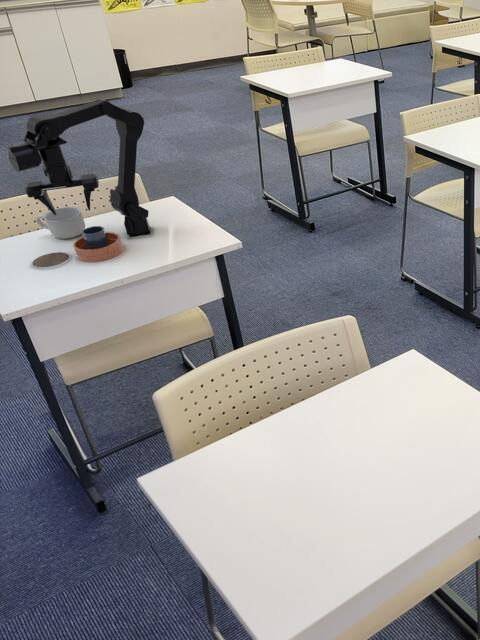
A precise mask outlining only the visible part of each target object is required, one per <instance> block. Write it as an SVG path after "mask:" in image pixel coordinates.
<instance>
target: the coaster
mask: <svg viewBox="0 0 480 640" xmlns="http://www.w3.org/2000/svg"><path fill="white" fill-rule="evenodd" d="M69 258H70V255H69V254H68V253H66V252H59V251H57V252H50V253H46V254H43V255H41V256H38V257H37V258H35V259H34V260H33V261H32V265H33V266H34V267H36V268H51V267H55V266H58V265H61V264H64V263H65V262H66V261H68V260H69Z"/></svg>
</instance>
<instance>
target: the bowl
mask: <svg viewBox="0 0 480 640" xmlns="http://www.w3.org/2000/svg"><path fill="white" fill-rule="evenodd" d="M105 232H106V235H107V238H108V241H109V244H110V245H109V246H106V247H103V248H99V249H93V250H88V248H87V246H86V243H85V240H84V237H83V236H81V237H80V238H78V239H76V240H75V241H73V244H72V248H73V250H74V253H75V255H76V258H77V259H78V260H79V261H81V262H84V263H96V262H104V261H107V260H111V259H114V258H117V257H118V256H120V255H121V254H122V253H123V252H124V249H125V247H124V244H123V241H122V238H121V236H120V234H118V233H117V232H112V231H105Z"/></svg>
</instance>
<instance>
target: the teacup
mask: <svg viewBox="0 0 480 640" xmlns="http://www.w3.org/2000/svg"><path fill="white" fill-rule="evenodd" d="M55 211H56V214H57V215H56V216H55V215H54V214H53V213H52V212H51V211H50V210H49V211H48V212H46V213H45V214H42V213H41V214H38V215H37V216H36V217H35V221H36V224H38V225H39V226H40V227H41V228H43V229H46V230H48V231H49V232H50V233H51V235H52V236H54V237H55V238H57V239H61V240H69V239H73V238H76V237H79V236H81V235H82V231H83V230H84V229H86V223H85V219H84V217H83V213H82V209H80V208H79V207H77V206H61V207H56V208H55ZM41 219H43V220H44V221H45V223H43V222H42V221H41Z"/></svg>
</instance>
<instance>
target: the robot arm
mask: <svg viewBox="0 0 480 640" xmlns="http://www.w3.org/2000/svg"><path fill="white" fill-rule="evenodd" d="M104 116H106V117H108V118H109V119H112V120H114V121H115V128H116V131H117V134H118V136H119V153H118V155H119V156H118V173H117V174H118V175H117V185H116V187H115V188H114V189H112V188H110V190H109V194H110V197H109V201H108V202H109V203H110V205H111V208H113V210H115V211H116V212H118V213H120V215H122V216H124V221H123V225H124V228H125V231H126V234H127V235H128V238H135V237H144V236H149V235H151V232H152V228H151V226H150V223H149V220H148V217H149V212H150V211H149V209H147V208H144V207H142V206H140V202H139V196H138V193H137V190H136V188H135V185H136V167H137V151H138V150H137V149H138V141H139V140H140V139H141V137H142V135H143V131H144V126H145V119H144V117H143V116H142V114H140V113H139V112H136V111H134V110H131V109H129V108H122V107H119V106H117V105H115V104H113V103H111V102H110V101H108V100H105V99H102V98H97V99H95V100H94V101H90V102H88V103H85V104H81V105H79V106H76V107H73V108H70V109H67V110H64V111H62V112H58V113H52V114H51V113H49V114H47V113H46V114H40V115H39V114H38V115H33V116H31V117H29V118H28V119H27V122H26V133H25V135H24V138H23V143H21V144H17V145H9V146H7V150H8V151H7V155H8V160H9V163H10V164H11V166H12V168H13V169H14V170H15V171H16V172H18V173H20V172H23V171H27V170H31V169H34V168H38V167H40V165H41V164H42V170H43V174H44V175H45V177H47V178H48V180H49V183H43V181H42V180H36V181H35V180H34V181H28V182H27V183H26V186H25V189H24V190H25V193H26V196H27V198H33V199H34V200H38V201H39V202H40V203H42V204H43V205H44V206H45V207H46V208H47V209H48V210H49V211H51V212H52V213H53V214H54V215H55V216H56V215H57V214H56V211H55V209H56V208H55V207H54V204H53V202H52V201H51V199H50V196H49V194H48V191H54V190H61V189H68V188H69V189H70V188H76V187H82V188H83V196H84V199H85V203H86V208H87V210H88V211H91V195H92V192H95V191H96V189H98V188H99V187H100V186H99V184H100V183H99V179H98V175H97V174H95V173H87V174H81V178H78V179H73V178H74V176H73V172H72V170H71V166H70V165H68V164H67V162H66V158H65V156H64V153H63V150H62V148H61V145H62V146H63V145H66V144H67V143H68V141H67V140H65V139H63V138H62V137H60V136H61V135H63V133H65V131H67V130H68V129H70V128H72V127H75V126H78V125H81V124H84V123H87V122H91V121H92V120H95V119H98V118H101V117H104Z"/></svg>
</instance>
